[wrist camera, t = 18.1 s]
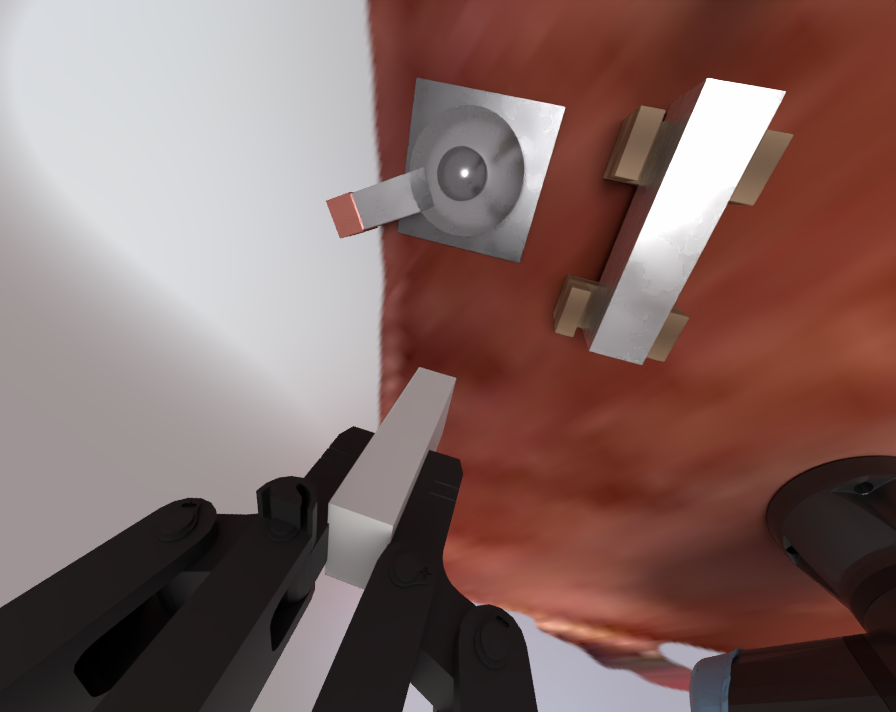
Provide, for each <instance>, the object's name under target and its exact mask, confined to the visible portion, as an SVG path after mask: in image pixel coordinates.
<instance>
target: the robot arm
mask: <svg viewBox="0 0 896 712" xmlns="http://www.w3.org/2000/svg"><path fill="white" fill-rule="evenodd" d="M455 382H456V378H454V377H451V376H448V375H444V374H441V373H438V372H434V371H431V370H428V369H424V368H421V367H419V368H418V370H417V371H416V373H415V374H414V376H413V377H412V379H411V380H410V382H409V383H408V385H407V386H406V388H405V389H404V391H403V392H402V394H401V395H400V397H399V398H398V400H397V401H396V403H395V404H394V406H393V407H392V409H391V410H390V412H389V413H388V415H387V416H386V418H385V419H384V421H383V422H382V424H381V425H380V427H379V428H378V430H377V431H376V433H373V432H370V431H367V430H364V429H361V428H357V427H354V426H353V427H351V428H349V429H348V430H346V431H344V432H342V433H341V434H339V435H338V437H337V438H336V439H335V440H334V442H333V443H332V444H331V445H330V447H329V449H327V450H326V451H325V453H324V454H323V455H322V457H321V459H319V460H318V461H317V463H316V464H315V465H314V466H313V467H312V469H311V470H310V471H309V472H308V474H307V475H306V476H305V477H304V478H300V477H294V476H288V477H280V478H277V479H275V480H272V481H270V482H267V483H266V484H265V485H263V486H262V487H261V488H259V489H258V490H257V491H256V493H257V504H258V514H248V515H241V514H240V515H239V514H217V513H216V509H215V508H214V506H213V505H212V503H211V502H209V501H206V500H204V499H202V498H186V499H182V500H178V501H174V502H172V503H170V504H168V505H165V506H163V507H161V508H159V509H158V510H156V511H155V512H153V513H151V514H150V515H148V516H147V517H145V518H143V519H142V520H140V521H139V522H137V523H135V524H134V525H132V526H131V527H129V528H127V529H126V530H124V531H123V532H121V533H119V534H118V535H116V536H115V537H113V538H111V539H110V540H108V541H106V542H105V543H103V544H102V545H100V546H98V547H97V548H95V549H94V550H92V551H90V552H89V553H87V554H86V555H84V556H83V557H81V558H79V559H78V560H76V561H75V562H73V563H71V564H70V565H68V566H67V567H65V568H63V569H62V570H60V571H58V572H57V573H55V574H54V575H52V576H51V577H49V578H47V579H46V580H44V581H42V582H41V583H39V584H38V585H36V586H34V587H33V588H31V589H30V590H28V591H26V592H25V593H23V594H22V595H20V596H19V597H17V598H15V599H14V600H12V601H10V602H9V603H8V604H6V605H4V606H2V607H1V608H0V712H250V710H251V709H252V707H253V705H254V703H255V701H256V699H257V698H258V696H259V694H260V692H261V690H262V688H263V687H264V685H265V683H266V681H267V679H268V678H269V676H270V674H271V672H272V670H273V668H274V667H275V665H276V663H277V661H278V659H279V658H280V656H281V654H282V652H283V650H284V648H285V646H286V645H287V643H288V641H289V639H290V637H291V635H292V634H293V632H294V630H295V628H296V627H297V625H298V623H299V621H300V619H301V617H302V616H303V614H304V612H305V610H306V608H307V607H308V605H309V603H310V601H311V599H312V595H313V593H314V590H315V581H316V579H317V578H318V576H319V574H320V572H321V570H322V568H323V567H324V565H325V575H328V576H331V577H333V578H336V579H338V580H341V581H343V582H346V583H349V584H351V585H354V586H357V587H359V588H362V589H364V592H363V594H362V597H361V599H360V601H359V604H358V606H357V608H356V611H355V613H354V615H353V617H352V620H351V622H350V624H349V627H348V629H347V631H346V633H345V636H344V638H343V640H342V643H341V645H340V647H339V650H338V652H337V654H336V657H335V659H334V661H333V663H332V666H331V668H330V670H329V673H328V675H327V677H326V680H325V682H324V684H323V686H322V689H321V691H320V693H319V696H318V698H317V700H316V703H315V705H314V707H313V709H312V712H402V711H403V707H404V703H405V699H406V695H407V691H408V687H409V684H410V682H411V684H412V685H413V686H414V687H415V688H416V689H417V690H418V691H419V692H420V693H421V694H422V695H423V696H424V697H425V698H426V699H427V700H428V701H429V702H430V703H431V704H432V705H433V712H538V710H537V704H536V698H535V692H534V686H533V680H532V674H531V668H530V662H529V657H528V651H527V646H526V642H525V639H524V636H523V633H522V631H521V629H520V627H519V626H518V624H517V623H516V621H515V620H514V618H513V617H512V616H510V615H509V614H508V613H507V612H505V611H504V610H503V609H502V608H499V607H496V606H493V605H490V604H488V605H480V606H475V605H474V604H473V603H472V602H470V601H469V600H468V599H467V598H466V597H464V596H463V595H462V594H461V593H460V592H459V591H458V590H457V589H456V588H455V587H454V586H453V585H452V584H451V582H450V581H449V579H448V577H447V575H446V573H445V570H444V567H443V550H444V546H445V542H446V538H447V534H448V530H449V526H450V523H451V519H452V515H453V511H454V507H455V503H456V499H457V495H458V492H459V488H460V484H461V480H462V476H463V472H462V467H461V463H460V460H459V459H456V458H453V457H450V456H447V455H444V454H441V453H438V452H436V449H437V447H438V444H439V441H440V439H441V436H442V434H443V430H444V426H445V422H446V418H447V414H448V410H449V406H450V402H451V398H452V394H453V390H454V386H455ZM767 525H768V529H769V531H770V533H771V535H772V536H773V538H774V539H775V541H776V542H777V543H778V545H779V546H780V548H781V549H782V551H783V552H784V553H785V555H786V556H787V557H788V558H789V559H790V560H791V561H792V562H793V563H794V564H796V565H797V566H798V567H799V568H800V569H801V570H803V571H804V572H805V573H806V574H807V575H809V576H810V577H811V578H812V579H813V580H815V581H816V582H817V583H818V584H819V585H821V586H822V587H823V588H824V589H825V590H827V591H828V592H829V593H830V594H831V595H833V596H834V597H835V598H836V599H837V600H839V601H840V602H841V603H842V604H843V605H845V606H846V607H847V608H848V609H849V610H850V611H851V612H852V614H853V615H854V616H855V618H856V619H857V620H858V622H859V623H860V624H861V626H862V627H863V628H864V630H865V631H866V632H867V633H865V634H858V635H851V636H845V637H835V638H828V639H821V640H814V641H807V642H800V643H793V644H786V645H779V646H773V647H766V648H759V649H750V650H745V649H744V648H738V649H734V650H733V651H731V652H730V653H726V654H722V655H718V656H713V657H708V658H704V659H702V660H700V661H699V662H697V663H696V665H695V666H694V668H693V671H692V673H691V681H690V686H689V693H690V706H691V712H896V457H861V458H853V459H847V460H842V461H837V462H833V463H830V464H826V465H823V466H820V467H818V468H815V469H813V470H810V471H808V472H806V473H804V474H802V475H800V476H799V477H797V478H795V479H794V480H792V481H791V482H789V483H788V484H787V485H786V486H784V487H783V488H782V489H781V490H780V491H779V492H778V493H777V494H776V496H775V497H774V498H773V500H772V502H771V504H770V506H769V508H768V512H767Z"/></svg>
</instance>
